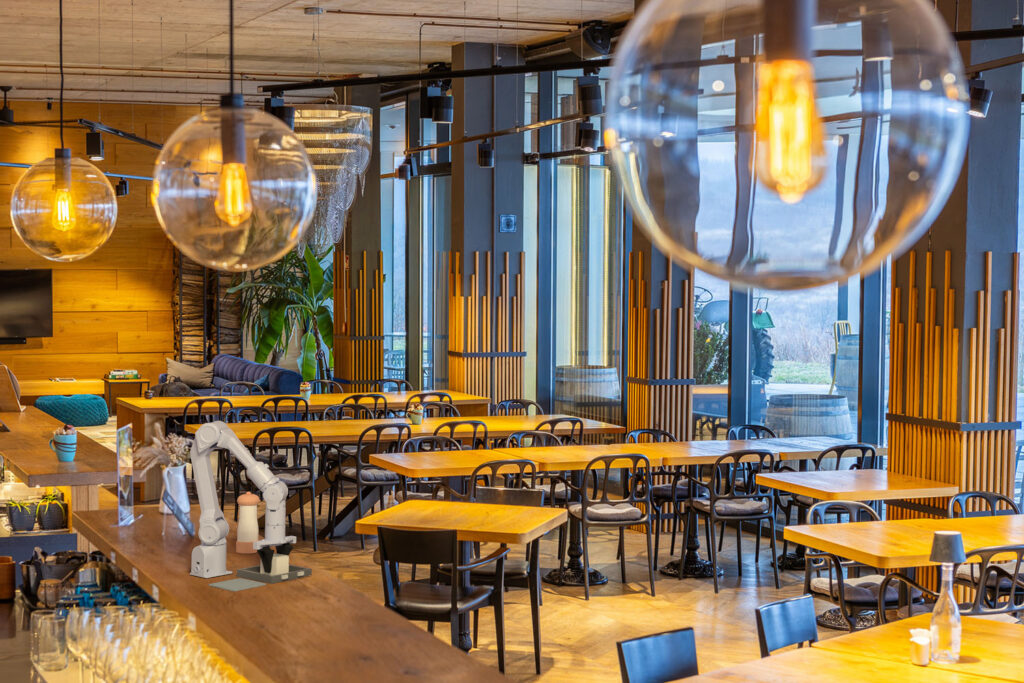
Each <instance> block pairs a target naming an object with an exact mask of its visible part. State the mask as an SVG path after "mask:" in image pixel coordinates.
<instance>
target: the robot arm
mask: <svg viewBox="0 0 1024 683" xmlns="http://www.w3.org/2000/svg"><path fill="white" fill-rule="evenodd" d="M217 447H218V448H223V449H227V450H228V451H229V452H231V453H232V455H233V456H234V457H235V458H236V459H237V460H238V461H239V462H241V464H242V465H243V466H244V467H245V468H246V476H247V477H248V478H249V479H250V480H251V481H252V482H253V483H254V485H255V486H256V487H257V488H258V490H259V491H261V492H263V493H262V498H263V499H264V502H265V511H264V512H265V513H264V514H265V516H264V518H265V519H264V522H265V523H264V525H265V526H264V538H263V539H259V541H257V542H253V549H256V550H257V552H256V553H258V555H259V558H260V561H261V560H262V564H263V567H264V572H266V573H271V569H272V558H273V554H274V553H275V551H276V553H277V554H282V555H287V556H290V554H291V552H292V550H293V548H294V545H292V544H296V543H297V535H296V536H294V535H289V536H286V498H287V496H288V494H289V489H288V485H287V484H286V482H284V481H282V480H280V478H279V477H278V476H277V477H276V475H275V474H273V472H272V471H271V470H270V469H269V468H270V465H269V464H268V463H264V462H263V461H257V460H256V459H255V458H254V456H252V454H251V453H250V451H249V450H248V449H247V448H246V446H245V445H244V444H243V443H242V441H241V440H240V439H239V438H238V436H237V435H236V434H235V432H234V430H232V429H231V427H229V426H228V425H227V423H225V422H224V421H222V420H215V421H212V422H205V423H203V424H201V425H200V427H199V428H198V429H197V430H196V431H195V435H194V439H193V442H192V445H191V448H190V451H189V454H190V459H191V460H190V461H191V465H192V470H193V476H194V481H195V487H196V492H197V496H198V504H199V506H200V511H201V512H200V515H199V520H198V522H199V529H198V537H199V540H200V544H199V545H197V546H195V547H194V548H193V549H192V552H191V563H190V564H191V570H190V571H191V572H189V575H191V576H196V577H200V578H205V579H209V578H213V577H219V576H224V575H225V576H226V575H230V574H233V571H232V570H227V542H228V541H227V539H226V537H227V536H228V535H229V533H230V525H229V523H228V521H227V520H226V518H225V515H224V512H223V511H222V509H221V508H220V504H219V498H218V493H217V487H216V483H215V479H214V478H215V477H214V472H213V468H212V462H211V457H210V456H211V454H212V453H213V451H214V450H215V449H216V448H217ZM272 547H275V549H272Z"/></svg>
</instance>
